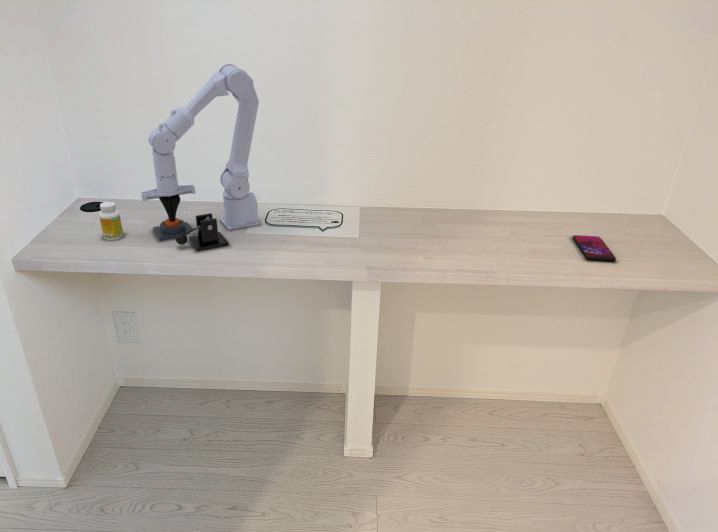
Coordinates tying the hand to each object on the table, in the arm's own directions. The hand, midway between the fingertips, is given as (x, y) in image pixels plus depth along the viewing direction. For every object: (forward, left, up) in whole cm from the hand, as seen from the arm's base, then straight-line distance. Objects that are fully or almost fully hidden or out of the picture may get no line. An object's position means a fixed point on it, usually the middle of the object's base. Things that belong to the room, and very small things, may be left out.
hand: (172, 220), depth 164 cm
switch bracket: (-7, +11, -4) cm, 14 cm away
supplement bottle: (+16, -5, -4) cm, 17 cm away
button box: (0, 0, -4) cm, 4 cm away
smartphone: (-102, +60, -4) cm, 118 cm away
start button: (0, 0, -2) cm, 2 cm away
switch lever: (-4, +11, -1) cm, 12 cm away
